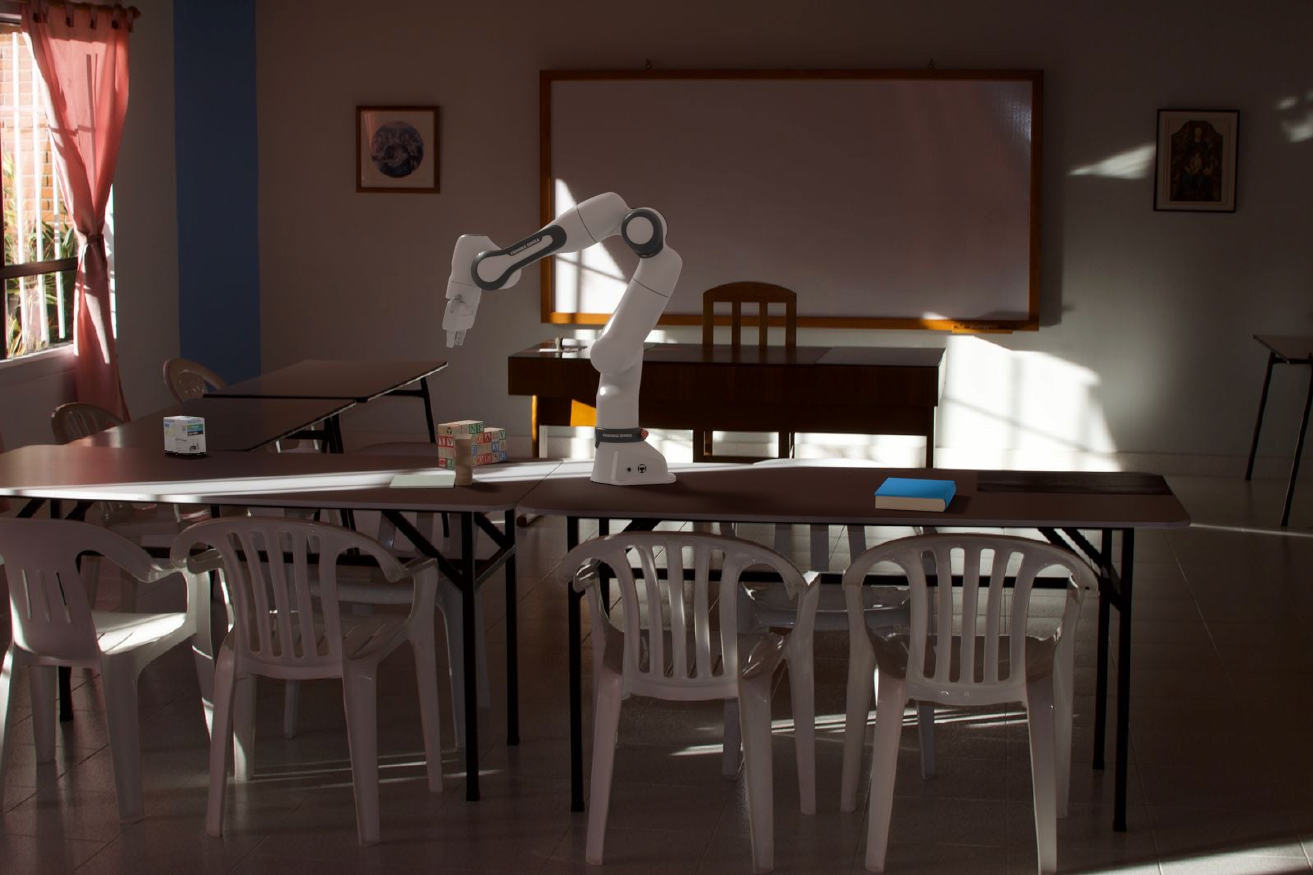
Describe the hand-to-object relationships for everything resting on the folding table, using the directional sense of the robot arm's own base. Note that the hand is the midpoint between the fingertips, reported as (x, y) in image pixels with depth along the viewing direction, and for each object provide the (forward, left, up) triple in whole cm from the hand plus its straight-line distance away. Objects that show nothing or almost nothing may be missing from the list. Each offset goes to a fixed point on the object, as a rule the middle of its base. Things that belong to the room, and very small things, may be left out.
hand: (454, 346), depth 385 cm
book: (-113, +45, -36) cm, 127 cm away
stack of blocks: (-4, -24, -35) cm, 43 cm away
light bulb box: (+81, -51, -35) cm, 102 cm away
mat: (+8, +8, -35) cm, 37 cm away
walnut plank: (-2, +8, -35) cm, 36 cm away
